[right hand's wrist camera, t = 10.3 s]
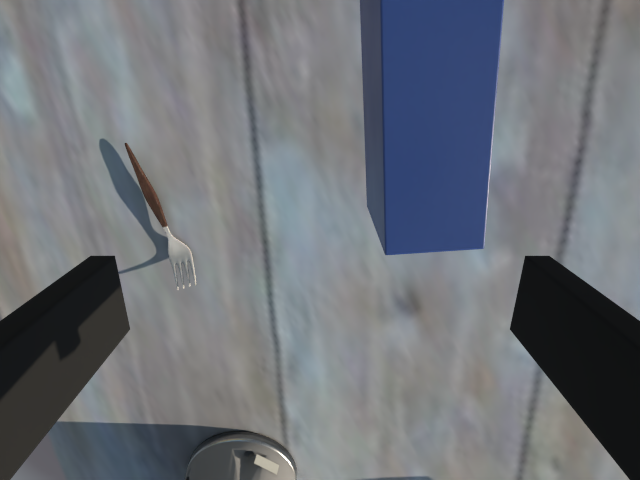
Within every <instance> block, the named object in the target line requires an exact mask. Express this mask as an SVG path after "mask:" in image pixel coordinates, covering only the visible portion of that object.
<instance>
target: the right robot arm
mask: <svg viewBox="0 0 640 480" xmlns="http://www.w3.org/2000/svg"><path fill="white" fill-rule="evenodd" d="M129 330H130V327H129V322H128V317H127V312H126V307H125V303H124V298H123V293H122V288H121V284H120V279H119V274H118V269H117V264H116V260H115V256H90V257H89V258H87V259H86V260H84V261H83V262H82V263H80V264H79V265H77V266H76V267H75V268H73V269H72V270H71V271H69V272H68V273H66V274H65V275H64V276H62V277H61V278H59V279H58V280H57V281H55V282H54V283H53V284H51V285H50V286H48V287H47V288H46V289H44V290H43V291H41V292H40V293H39V294H37V295H36V296H34V297H33V298H32V299H30V300H29V301H28V302H26V303H25V304H23V305H22V306H21V307H19V308H18V309H16V310H15V311H14V312H12V313H11V314H9V315H8V316H7V317H5V318H4V319H3V320H1V321H0V480H10V479H11V478H12V477H13V475H14V474H15V473H16V472H17V470H18V469H19V468H20V467H21V465H22V464H23V463H24V462H25V460H26V459H27V458H28V457H29V455H30V454H31V453H32V452H33V450H34V449H35V448H36V447H37V445H38V444H39V443H40V442H41V440H42V439H43V438H44V436H45V435H46V434H47V433H48V431H49V430H50V429H51V428H52V426H53V425H54V424H55V423H56V421H57V420H58V419H59V418H60V416H61V415H62V414H63V413H64V411H65V410H66V409H67V408H68V406H69V405H70V404H71V403H72V401H73V400H74V399H75V398H76V396H77V395H78V394H79V393H80V391H81V390H82V389H83V388H84V386H85V385H86V384H87V383H88V381H89V380H90V379H91V378H92V376H93V375H94V374H95V373H96V371H97V370H98V369H99V368H100V366H101V365H102V364H103V362H104V361H105V360H106V359H107V357H108V356H109V355H110V354H111V352H112V351H113V350H114V349H115V347H116V346H117V345H118V344H119V342H120V341H121V340H122V339H123V337H124V336H125V335H126V334H127V332H128V331H129ZM510 330H511V331H512V332H513V334H514V335H515V336H516V337H517V339H518V340H519V341H520V342H521V344H522V345H523V346H524V347H525V349H526V350H527V351H528V352H529V354H530V355H531V356H532V357H533V359H534V360H535V361H536V362H537V364H538V365H539V366H540V368H541V369H542V370H543V371H544V373H545V374H546V375H547V376H548V378H549V379H550V380H551V381H552V383H553V384H554V385H555V386H556V388H557V389H558V390H559V391H560V393H561V394H562V395H563V396H564V398H565V399H566V400H567V401H568V403H569V404H570V405H571V406H572V408H573V409H574V410H575V411H576V413H577V414H578V415H579V416H580V418H581V419H582V420H583V421H584V423H585V424H586V425H587V426H588V428H589V429H590V430H591V431H592V433H593V434H594V435H595V437H596V438H597V439H598V440H599V442H600V443H601V444H602V445H603V447H604V448H605V449H606V450H607V452H608V453H609V454H610V455H611V457H612V458H613V459H614V460H615V462H616V463H617V464H618V465H619V467H620V468H621V469H622V470H623V472H624V473H625V474H626V475H627V477H628V478H629V479H630V480H640V321H639V320H637V319H636V318H635V317H633V316H632V315H631V314H629V313H628V312H626V311H625V310H624V309H622V308H621V307H619V306H618V305H617V304H615V303H614V302H612V301H611V300H610V299H608V298H607V297H606V296H604V295H603V294H601V293H600V292H599V291H597V290H596V289H594V288H593V287H592V286H590V285H589V284H587V283H586V282H585V281H583V280H582V279H581V278H579V277H578V276H576V275H575V274H574V273H572V272H571V271H569V270H568V269H567V268H565V267H564V266H562V265H561V264H560V263H558V262H557V261H556V260H554V259H553V258H551V257H550V256H525V260H524V264H523V269H522V274H521V279H520V284H519V288H518V293H517V298H516V303H515V307H514V312H513V317H512V322H511V327H510ZM296 475H297V470H296V465H295V462H294V460H293V458H292V456H291V455H290V453H289V452H288V451H287V450H286V449H285V448H284V447H283V446H282V445H280V444H279V443H277V442H276V441H274V440H272V439H270V438H268V437H266V436H263V435H260V434H256V433H250V432H228V433H223V434H219V435H216V436H213V437H211V438H209V439H207V440H206V441H204V442H203V443H202V444H200V445H199V446H198V447H197V448H196V450H195V451H194V452H193V454H192V456H191V459H190V462H189V464H188V467H187V471H186V477H185V480H296Z"/></svg>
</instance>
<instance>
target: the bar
mask: <svg viewBox="0 0 640 480" xmlns="http://www.w3.org/2000/svg"><path fill="white" fill-rule="evenodd" d="M503 6H504V0H360V15H361V44H362V73H363V101H364V130H365V159H366V188H367V207H368V210H369V212H370V215H371V218H372V221H373V223H374V226H375V229H376V231H377V234H378V237H379V239H380V242H381V245H382V247H383V250H384V253H385V255H396V254H411V253H427V252H442V251H457V250H472V249H483V248H484V243H485V230H486V218H487V205H488V193H489V180H490V168H491V156H492V143H493V131H494V118H495V106H496V93H497V81H498V69H499V56H500V44H501V31H502V19H503Z"/></svg>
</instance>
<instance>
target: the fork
mask: <svg viewBox="0 0 640 480" xmlns="http://www.w3.org/2000/svg"><path fill="white" fill-rule="evenodd" d="M125 147H126V149H127V152H128V155H129V158H130V160H131V163H132V165H133V168H134V170H135V173H136V176H137V178H138V181H139V184H140V187H141V189H142V192H143V194H144V196H145V199H146V200H147V202H148V204H149V206H150V207H151V209H152V211H153V212H154V214H155V216H156V217H157V219H158V220H159V222H160V224H161V225H162V227H163V229H164V230H165V232H166V234H167V237H168V255H169V259H170V262H171V265H172V268H173V272H174V276H175V281H176V285H177V290H178V281H177V273H176V264H177V265H178V267H179V271H180V275H181V280H182V284H183V288H184V280H183V272H182V263H183V264H184V266H185V270H186V274H187V278H188V283H189V287H190V279H189V271H188V264H187V262H188V261H189V262H190V265H191V269H192V273H193V277H194V281H195V285H196V278H195V270H194V264H193V258H192V253H191V251H190V249H189V248H188V247H187V246H186V245H185V244H184V243H182V242H181V241H179V240H178V239H176V238H175V237H173V236H172V234H171V233H170V231H169V228H168V226H167V223H166V220H165V217H164V214H163V211H162V208H161V205H160V202H159V199H158V197H157V195H156V193H155V191H154V189H153V187H152V186H151V184H150V182H149V181H148V179H147V177H146V176H145V174H144V172H143V171H142V169H141V167H140V165H139V163H138V162H137V160H136V158H135V156H134V154H133V153H132V151H131V149H130V147H129V146H128V144H127V143H125Z"/></svg>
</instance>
